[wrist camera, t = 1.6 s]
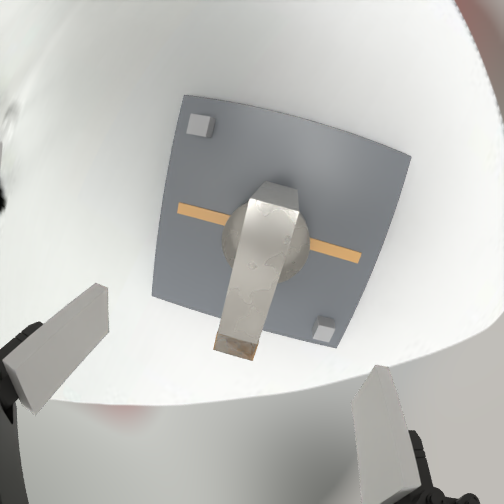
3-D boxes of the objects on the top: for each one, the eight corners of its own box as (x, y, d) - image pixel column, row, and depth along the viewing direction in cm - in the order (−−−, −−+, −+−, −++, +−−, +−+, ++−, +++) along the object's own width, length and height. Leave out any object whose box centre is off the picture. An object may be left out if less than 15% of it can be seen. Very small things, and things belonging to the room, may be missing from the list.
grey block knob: (240, 171, 26) (205, 187, 16) (324, 194, 26) (343, 225, 16) (216, 276, 30) (179, 338, 20) (291, 297, 30) (286, 369, 20)
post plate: (188, 96, 27) (176, 91, 24) (407, 156, 26) (419, 157, 23) (155, 291, 36) (144, 303, 33) (335, 342, 35) (338, 358, 32)
